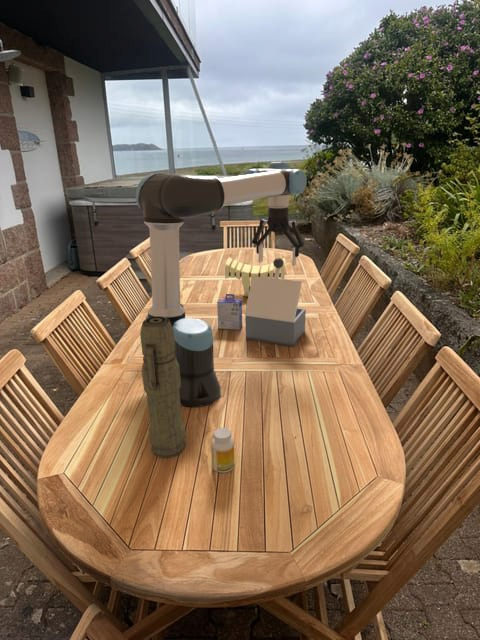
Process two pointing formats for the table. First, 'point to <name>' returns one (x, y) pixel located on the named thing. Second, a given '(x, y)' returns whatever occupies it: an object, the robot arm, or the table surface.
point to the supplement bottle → (222, 450)
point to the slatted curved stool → (250, 272)
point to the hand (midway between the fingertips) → (277, 263)
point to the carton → (276, 329)
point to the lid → (273, 297)
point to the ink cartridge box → (229, 313)
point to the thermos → (162, 387)
